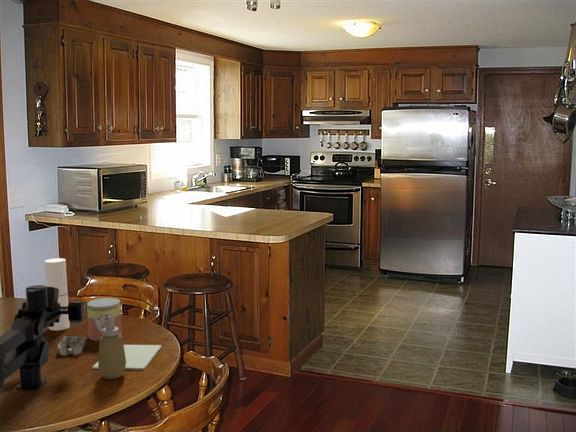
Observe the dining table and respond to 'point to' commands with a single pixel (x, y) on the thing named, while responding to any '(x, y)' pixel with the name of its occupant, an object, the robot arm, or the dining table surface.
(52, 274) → the cylindrical container
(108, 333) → the tan nozzle bottle
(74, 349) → the egg carton
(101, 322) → the canned food
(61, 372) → the dining table surface
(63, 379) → the dining table surface
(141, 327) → the dining table surface
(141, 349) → the mat
